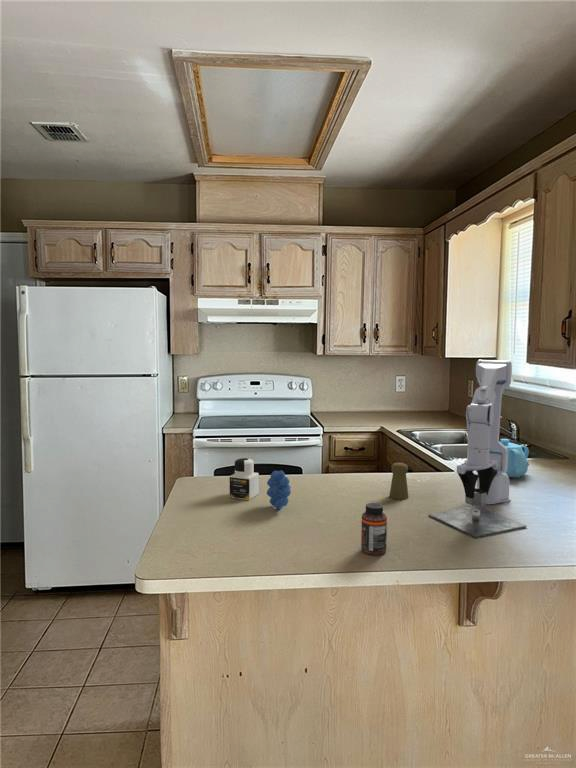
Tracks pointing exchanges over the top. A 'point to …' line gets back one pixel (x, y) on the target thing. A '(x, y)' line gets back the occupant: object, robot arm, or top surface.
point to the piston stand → (477, 521)
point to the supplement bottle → (374, 530)
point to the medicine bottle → (244, 480)
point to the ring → (477, 498)
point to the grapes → (278, 489)
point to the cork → (399, 482)
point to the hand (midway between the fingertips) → (476, 495)
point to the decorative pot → (515, 459)
